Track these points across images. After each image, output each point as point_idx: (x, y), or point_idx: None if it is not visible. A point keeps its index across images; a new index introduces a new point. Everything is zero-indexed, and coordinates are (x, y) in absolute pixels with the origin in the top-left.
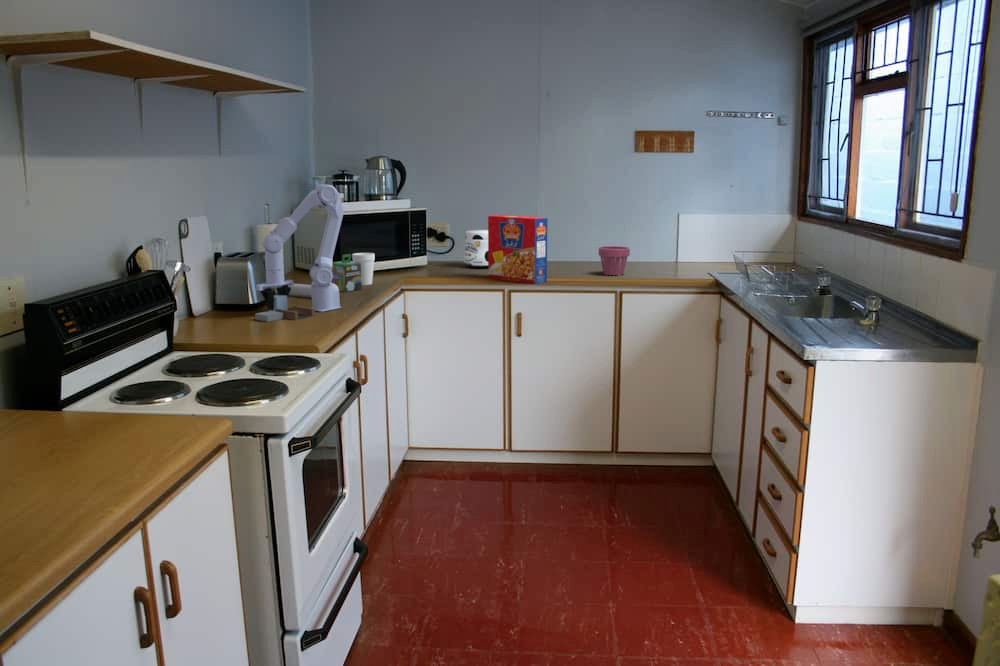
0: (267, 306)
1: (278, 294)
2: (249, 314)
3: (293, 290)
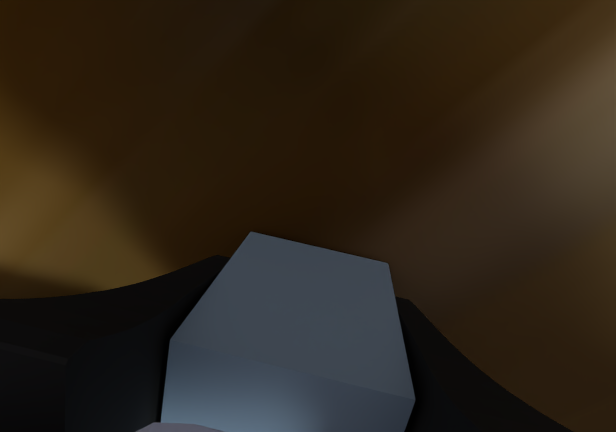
0: (199, 263)
1: (408, 400)
2: (114, 56)
3: None
